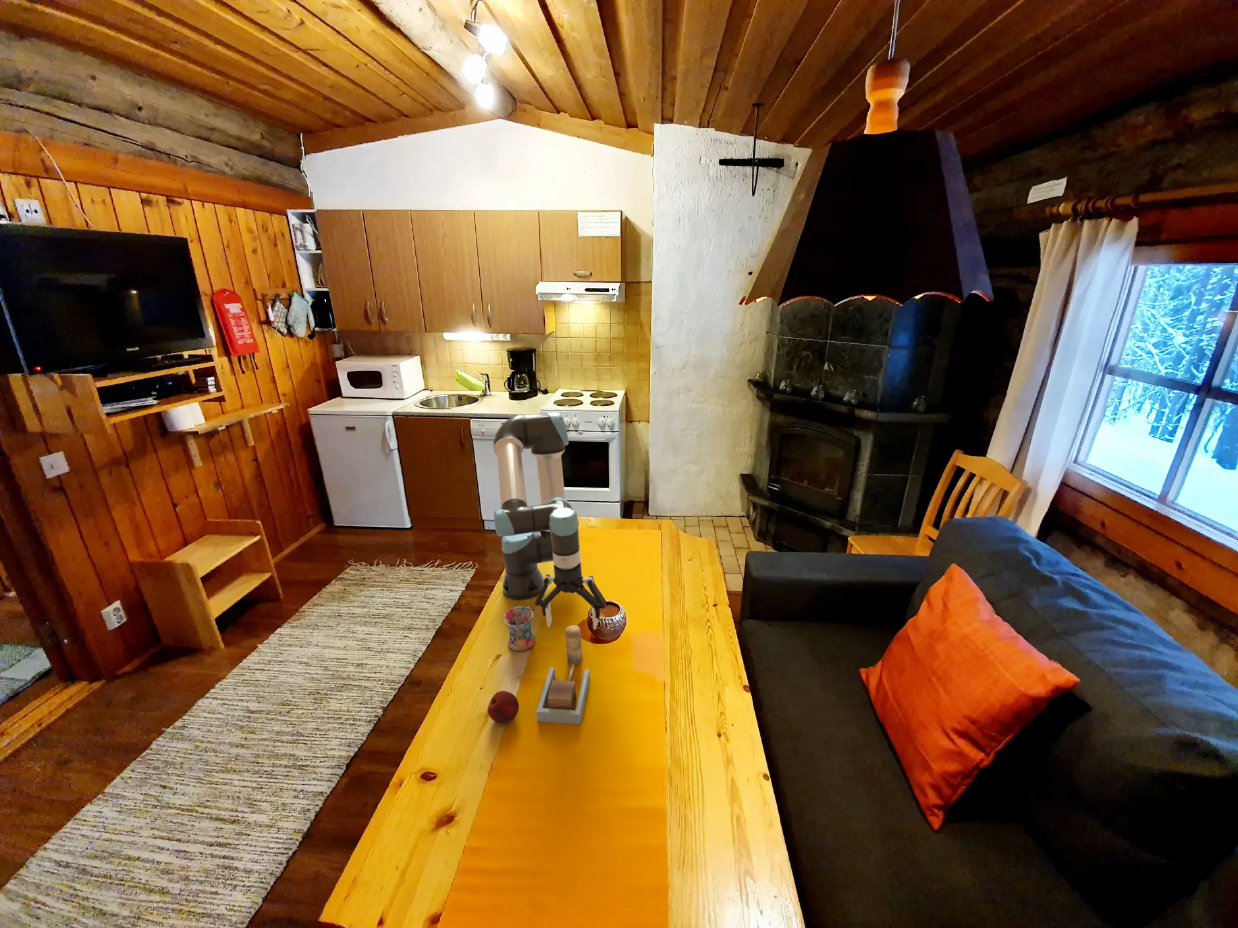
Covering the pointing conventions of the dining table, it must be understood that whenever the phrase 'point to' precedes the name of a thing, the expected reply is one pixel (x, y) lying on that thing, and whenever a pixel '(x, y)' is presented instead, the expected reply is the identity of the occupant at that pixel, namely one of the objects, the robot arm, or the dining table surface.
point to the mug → (519, 627)
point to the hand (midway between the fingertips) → (572, 625)
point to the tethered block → (564, 691)
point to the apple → (503, 707)
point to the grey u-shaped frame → (560, 714)
